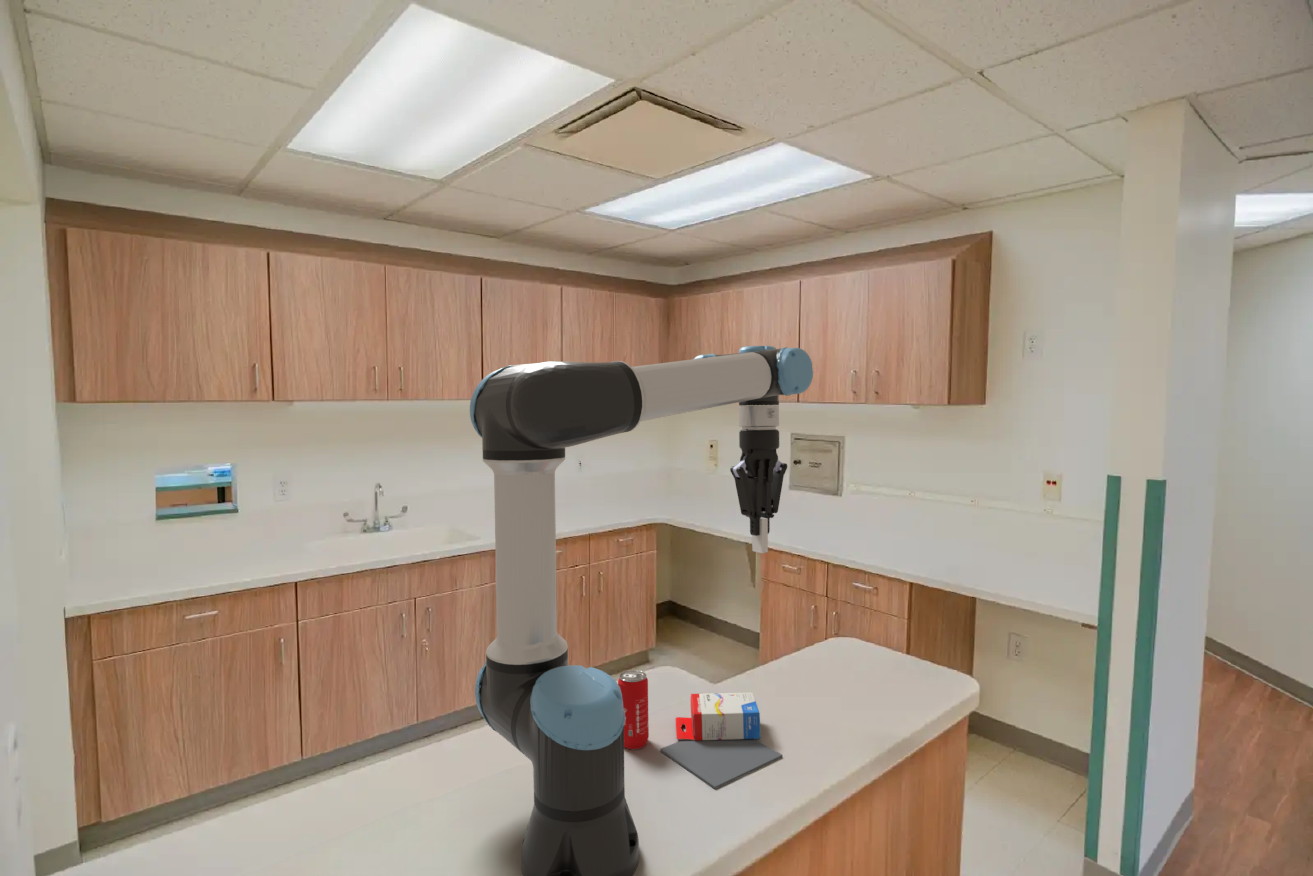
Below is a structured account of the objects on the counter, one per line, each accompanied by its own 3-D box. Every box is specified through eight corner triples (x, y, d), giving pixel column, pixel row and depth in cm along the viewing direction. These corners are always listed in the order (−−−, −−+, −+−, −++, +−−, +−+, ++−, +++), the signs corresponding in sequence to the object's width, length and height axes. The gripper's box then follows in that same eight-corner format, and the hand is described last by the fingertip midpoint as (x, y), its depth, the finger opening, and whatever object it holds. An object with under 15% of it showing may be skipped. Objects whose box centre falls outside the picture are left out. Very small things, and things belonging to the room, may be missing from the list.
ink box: (760, 712, 112) (676, 714, 112) (760, 740, 113) (676, 742, 112) (752, 691, 121) (674, 693, 121) (753, 717, 121) (675, 719, 121)
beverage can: (645, 752, 110) (644, 682, 109) (615, 749, 111) (614, 680, 111) (651, 737, 115) (650, 670, 115) (623, 734, 116) (622, 668, 116)
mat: (714, 789, 99) (714, 786, 99) (660, 751, 110) (660, 749, 110) (782, 757, 108) (782, 754, 108) (725, 725, 119) (725, 722, 119)
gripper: (747, 429, 116) (748, 560, 117) (797, 427, 123) (798, 550, 124) (720, 429, 122) (721, 552, 123) (769, 427, 129) (770, 544, 131)
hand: (760, 551), depth 124 cm, fingers closed
